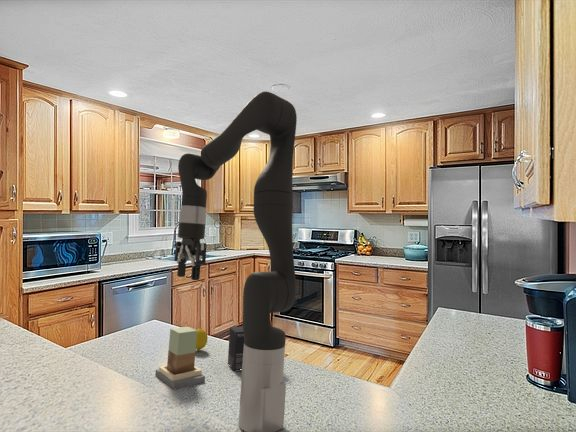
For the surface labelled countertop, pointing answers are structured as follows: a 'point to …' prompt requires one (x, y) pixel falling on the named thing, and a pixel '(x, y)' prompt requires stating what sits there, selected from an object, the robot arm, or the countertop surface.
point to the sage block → (182, 340)
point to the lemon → (201, 339)
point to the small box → (236, 348)
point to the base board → (180, 377)
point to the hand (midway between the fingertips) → (187, 278)
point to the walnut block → (180, 363)
